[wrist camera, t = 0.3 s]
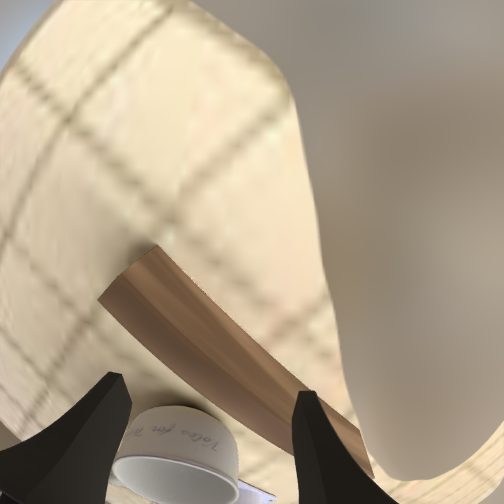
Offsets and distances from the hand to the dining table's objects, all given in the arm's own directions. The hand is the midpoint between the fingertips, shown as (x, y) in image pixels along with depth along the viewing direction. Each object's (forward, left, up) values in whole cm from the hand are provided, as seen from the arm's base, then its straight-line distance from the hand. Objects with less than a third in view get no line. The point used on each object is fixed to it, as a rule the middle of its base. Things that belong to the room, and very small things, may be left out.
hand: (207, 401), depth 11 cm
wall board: (-2, -7, -11) cm, 13 cm away
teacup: (-15, -7, -11) cm, 19 cm away
